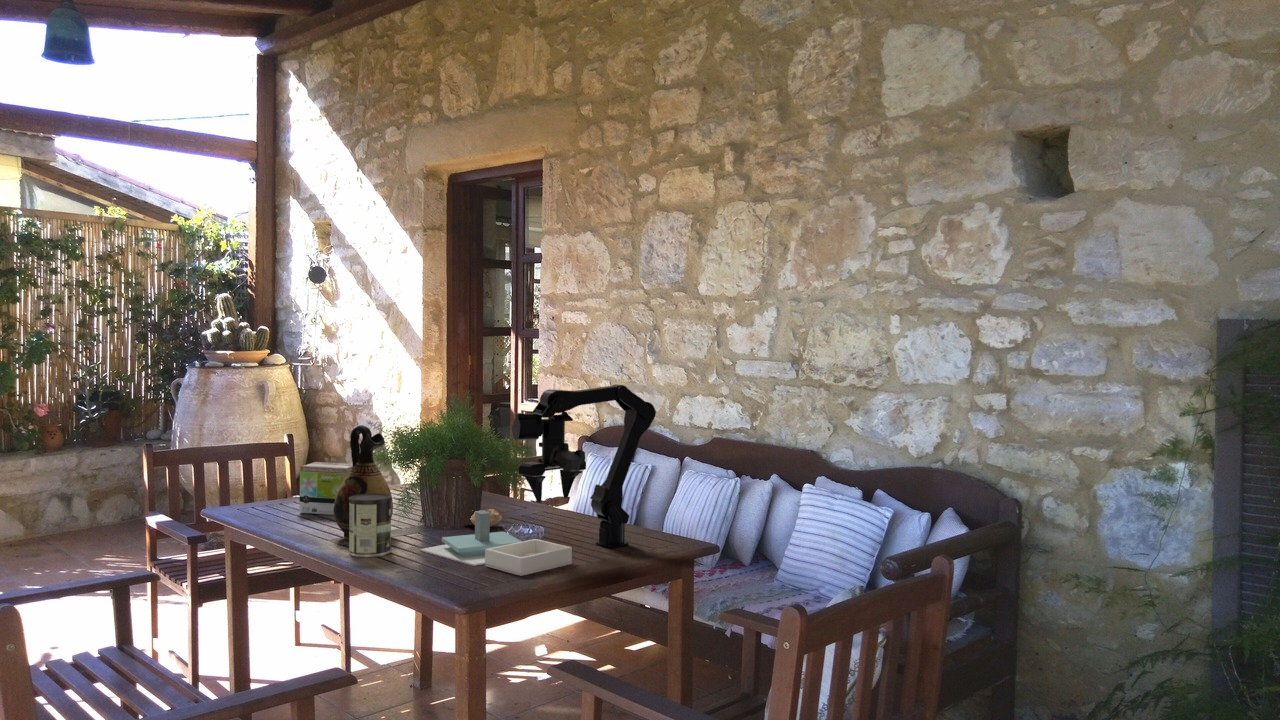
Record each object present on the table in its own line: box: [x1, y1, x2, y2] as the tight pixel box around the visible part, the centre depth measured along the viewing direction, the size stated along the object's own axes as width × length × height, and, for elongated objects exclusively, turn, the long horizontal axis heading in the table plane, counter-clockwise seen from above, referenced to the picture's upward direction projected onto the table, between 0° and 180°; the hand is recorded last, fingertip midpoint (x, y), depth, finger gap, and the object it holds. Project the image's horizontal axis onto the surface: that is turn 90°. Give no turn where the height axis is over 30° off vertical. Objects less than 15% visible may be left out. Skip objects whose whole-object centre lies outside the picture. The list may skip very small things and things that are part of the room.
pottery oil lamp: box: [470, 508, 503, 528], centre depth 264 cm, size 9×12×7 cm
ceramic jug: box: [333, 424, 394, 541], centre depth 247 cm, size 17×15×30 cm
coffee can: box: [348, 494, 393, 558], centre depth 230 cm, size 10×10×14 cm
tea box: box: [298, 461, 353, 516], centre depth 281 cm, size 15×10×15 cm, turn 83°
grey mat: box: [419, 543, 485, 567], centre depth 234 cm, size 22×22×1 cm
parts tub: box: [484, 538, 573, 577], centre depth 220 cm, size 16×13×4 cm
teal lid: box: [441, 510, 523, 557], centre depth 233 cm, size 17×14×10 cm
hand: (552, 500), depth 235 cm, fingers open, 9 cm apart
